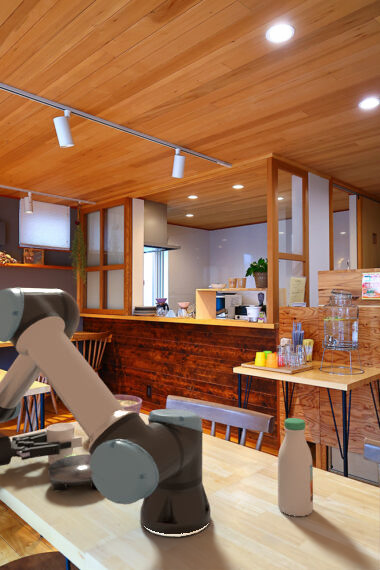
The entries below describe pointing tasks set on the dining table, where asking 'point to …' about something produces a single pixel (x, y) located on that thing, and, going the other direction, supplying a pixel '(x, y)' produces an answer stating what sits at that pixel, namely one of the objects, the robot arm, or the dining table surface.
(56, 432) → the white cup
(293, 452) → the milk bottle
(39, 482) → the dining table surface
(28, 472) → the dining table surface
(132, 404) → the bowl of food
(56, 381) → the robot arm
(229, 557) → the dining table surface
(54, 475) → the stand
